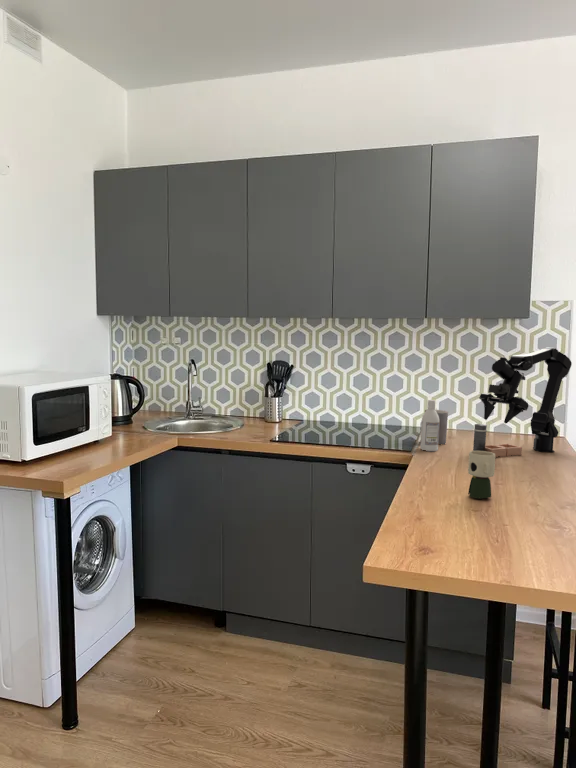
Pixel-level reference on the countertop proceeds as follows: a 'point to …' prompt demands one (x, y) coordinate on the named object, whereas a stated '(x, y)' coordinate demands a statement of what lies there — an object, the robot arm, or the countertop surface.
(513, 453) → the collar
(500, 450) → the collar
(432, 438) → the bath foam
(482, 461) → the character mug
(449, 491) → the countertop surface
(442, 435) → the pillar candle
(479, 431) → the tube
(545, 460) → the countertop surface
